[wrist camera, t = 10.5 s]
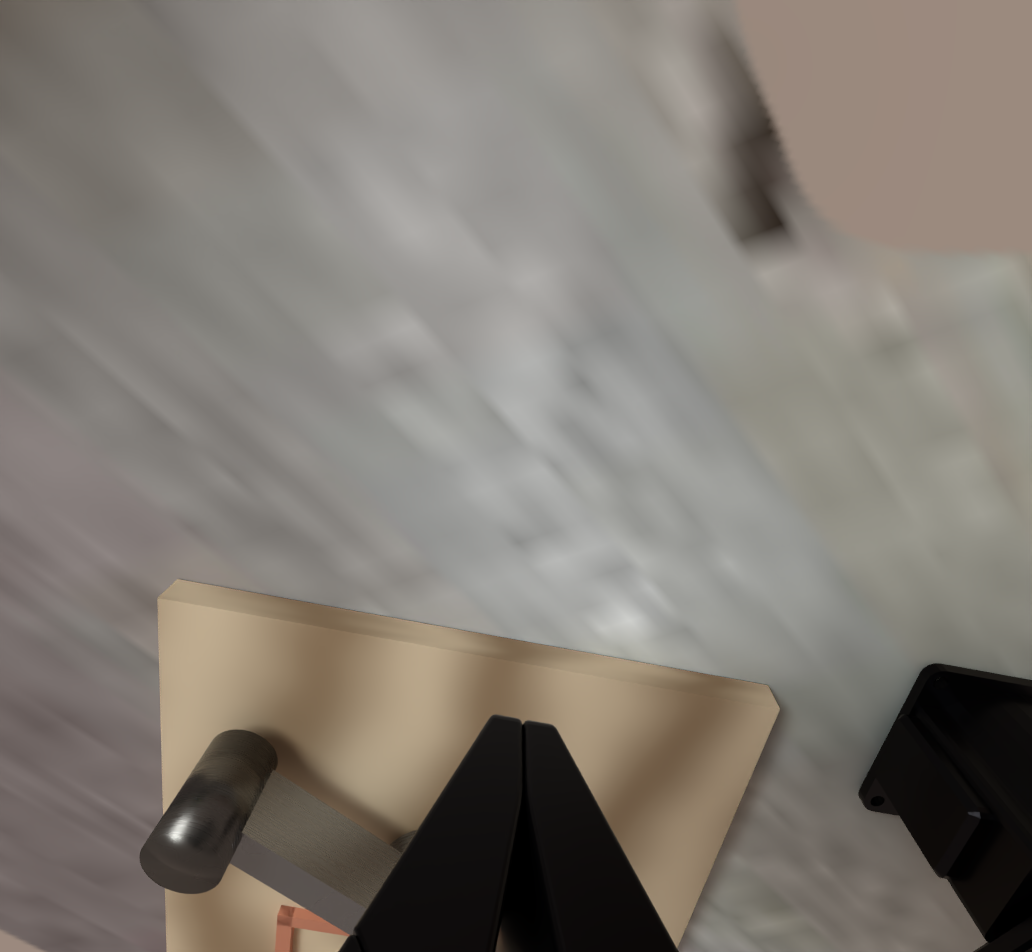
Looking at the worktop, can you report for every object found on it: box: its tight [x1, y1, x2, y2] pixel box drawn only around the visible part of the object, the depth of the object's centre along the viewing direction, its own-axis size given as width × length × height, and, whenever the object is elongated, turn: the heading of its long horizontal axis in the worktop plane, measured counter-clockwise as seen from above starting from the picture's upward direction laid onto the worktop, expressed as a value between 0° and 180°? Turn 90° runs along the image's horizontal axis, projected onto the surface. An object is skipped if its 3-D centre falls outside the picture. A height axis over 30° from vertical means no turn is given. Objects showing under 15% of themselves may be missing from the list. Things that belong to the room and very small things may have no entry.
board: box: [158, 579, 780, 952], centre depth 25 cm, size 21×20×1 cm
